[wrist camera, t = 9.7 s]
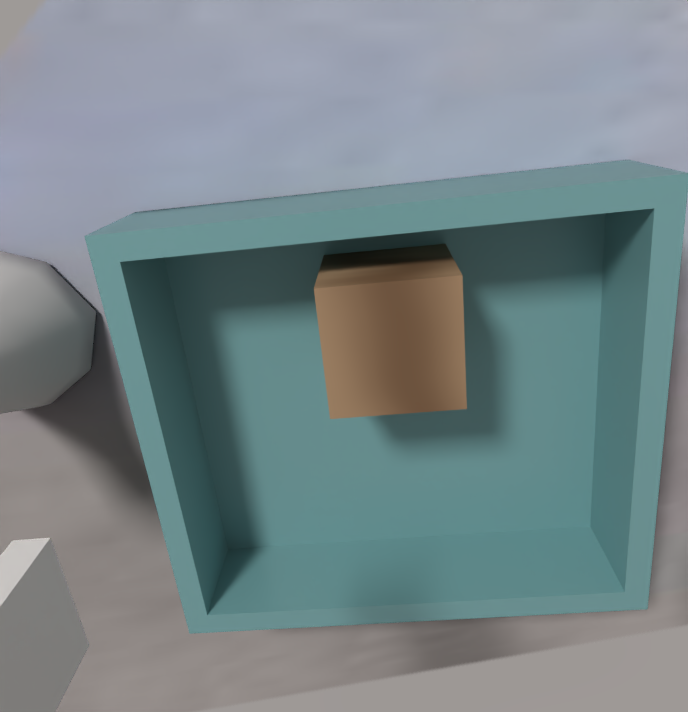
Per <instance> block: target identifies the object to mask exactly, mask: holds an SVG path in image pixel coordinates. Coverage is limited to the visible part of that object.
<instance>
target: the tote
mask: <svg viewBox="0 0 688 712" xmlns="http://www.w3.org/2000/svg"><path fill="white" fill-rule="evenodd" d="M687 192H688V173H686V172H681V171H677V170H672V169H668V168H663V167H659V166H654V165H650V164H645V163H641V162H636V161H632V160H622V161H613V162H604V163H594V164H585V165H575V166H566V167H557V168H547V169H538V170H528V171H519V172H509V173H500V174H491V175H481V176H472V177H462V178H453V179H444V180H434V181H425V182H415V183H406V184H397V185H387V186H378V187H368V188H359V189H350V190H340V191H331V192H321V193H312V194H302V195H293V196H284V197H274V198H265V199H255V200H246V201H237V202H227V203H218V204H208V205H199V206H190V207H180V208H171V209H161V210H152V211H143V212H135V213H133V214H131V215H129V216H126V217H124V218H122V219H120V220H118V221H116V222H114V223H112V224H109V225H107V226H105V227H103V228H101V229H99V230H97V231H95V232H92V233H90V234H88V235H86V236H85V240H86V243H87V247H88V251H89V255H90V259H91V262H92V266H93V270H94V274H95V278H96V281H97V285H98V289H99V293H100V296H101V300H102V304H103V308H104V312H105V315H106V319H107V323H108V327H109V330H110V334H111V338H112V342H113V346H114V349H115V353H116V357H117V361H118V364H119V368H120V372H121V376H122V380H123V383H124V387H125V391H126V395H127V398H128V402H129V406H130V410H131V414H132V417H133V421H134V425H135V429H136V433H137V436H138V440H139V444H140V448H141V451H142V455H143V459H144V463H145V467H146V470H147V474H148V478H149V482H150V485H151V489H152V493H153V497H154V501H155V504H156V508H157V512H158V516H159V519H160V523H161V527H162V531H163V535H164V538H165V542H166V546H167V550H168V553H169V557H170V561H171V565H172V569H173V572H174V576H175V580H176V584H177V588H178V591H179V595H180V599H181V603H182V606H183V610H184V614H185V618H186V622H187V625H188V629H189V633H209V632H228V631H247V630H265V629H284V628H303V627H322V626H341V625H359V624H378V623H397V622H416V621H434V620H453V619H472V618H491V617H509V616H528V615H547V614H566V613H585V612H603V611H622V610H641V609H647V608H648V598H649V587H650V577H651V567H652V556H653V546H654V535H655V525H656V515H657V504H658V494H659V483H660V473H661V463H662V452H663V442H664V431H665V421H666V411H667V400H668V390H669V379H670V369H671V359H672V348H673V338H674V327H675V317H676V307H677V296H678V286H679V276H680V265H681V255H682V244H683V234H684V224H685V213H686V203H687ZM436 244H446V246H447V247H448V249H449V251H450V253H451V255H452V257H453V259H454V260H455V262H456V264H457V266H458V268H459V270H460V272H461V273H462V275H463V306H464V336H465V367H466V398H467V409H460V410H447V411H433V412H420V413H406V414H393V415H379V416H366V417H352V418H339V419H330V414H329V406H328V398H327V390H326V382H325V374H324V366H323V358H322V351H321V343H320V335H319V327H318V319H317V311H316V303H315V295H314V286H315V283H316V279H317V276H318V273H319V269H320V266H321V263H322V259H323V256H324V255H329V254H340V253H351V252H361V251H372V250H383V249H393V248H404V247H415V246H425V245H436Z"/></svg>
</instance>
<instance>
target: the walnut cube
mask: <svg viewBox="0 0 688 712" xmlns="http://www.w3.org/2000/svg"><path fill="white" fill-rule="evenodd" d="M314 295H315V303H316V311H317V319H318V327H319V335H320V343H321V351H322V358H323V366H324V374H325V382H326V390H327V398H328V406H329V414H330V419H339V418H352V417H366V416H379V415H393V414H406V413H420V412H433V411H447V410H460V409H467V398H466V367H465V336H464V306H463V275H462V273H461V272H460V270H459V268H458V266H457V264H456V262H455V260H454V259H453V257H452V255H451V253H450V251H449V249H448V247H447V246H446V244H436V245H425V246H415V247H404V248H393V249H383V250H372V251H361V252H351V253H340V254H329V255H324V256H323V259H322V263H321V266H320V269H319V273H318V276H317V279H316V283H315V286H314Z"/></svg>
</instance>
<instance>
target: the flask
mask: <svg viewBox="0 0 688 712" xmlns="http://www.w3.org/2000/svg"><path fill="white" fill-rule="evenodd" d="M95 318H96V311H95V310H94V309H93V308H92V307H91V306H90V305H89V304H88V303H87V302H86V301H85V300H84V299H83V298H82V297H81V296H80V295H79V294H78V293H77V292H76V291H75V290H74V289H73V288H72V287H71V286H70V285H69V284H68V283H67V282H66V281H65V280H64V279H63V278H62V277H61V276H60V275H59V274H58V273H57V272H56V271H55V270H54V269H53V268H52V267H51V266H50V265H49V264H48V263H47V262H44V261H40V260H36V259H31V258H27V257H23V256H19V255H15V254H11V253H6V252H2V251H0V414H2V413H8V412H13V411H19V410H24V409H30V408H36V407H41V406H45V405H49V404H51V403H52V402H54V401H55V400H56V399H57V398H58V397H59V396H61V395H62V394H63V393H64V392H65V391H66V390H67V389H69V388H70V387H71V386H72V385H73V384H74V383H76V382H77V381H78V380H79V379H80V378H81V377H83V376H84V375H85V374H86V373H87V372H88V371H89V370H91V361H92V351H93V340H94V329H95Z"/></svg>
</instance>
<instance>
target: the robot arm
mask: <svg viewBox="0 0 688 712" xmlns="http://www.w3.org/2000/svg"><path fill="white" fill-rule="evenodd" d="M88 647H89V643H88V640H87V637H86V634H85V631H84V629H83V626H82V623H81V620H80V618H79V615H78V612H77V609H76V607H75V604H74V601H73V598H72V596H71V593H70V590H69V587H68V585H67V582H66V579H65V576H64V574H63V571H62V568H61V565H60V563H59V560H58V557H57V554H56V552H55V549H54V546H53V543H52V540H51V538H40V539H27V540H15V541H12V542H11V543H10V544H9V546H8V547H7V548H6V549H5V551H4V552H3V553H2V554H1V556H0V712H55V711H56V709H57V707H58V705H59V703H60V701H61V699H62V698H63V696H64V694H65V692H66V690H67V688H68V686H69V684H70V682H71V680H72V678H73V676H74V674H75V672H76V670H77V668H78V666H79V664H80V662H81V660H82V658H83V657H84V655H85V653H86V651H87V649H88Z"/></svg>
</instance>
